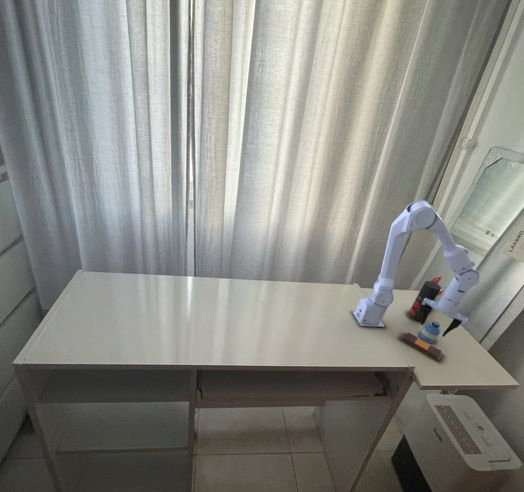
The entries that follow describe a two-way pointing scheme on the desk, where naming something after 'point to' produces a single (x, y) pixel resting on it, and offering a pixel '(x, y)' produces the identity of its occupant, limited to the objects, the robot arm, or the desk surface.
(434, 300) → the ink box
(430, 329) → the bottle
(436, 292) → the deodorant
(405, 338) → the snack bar
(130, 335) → the desk surface
